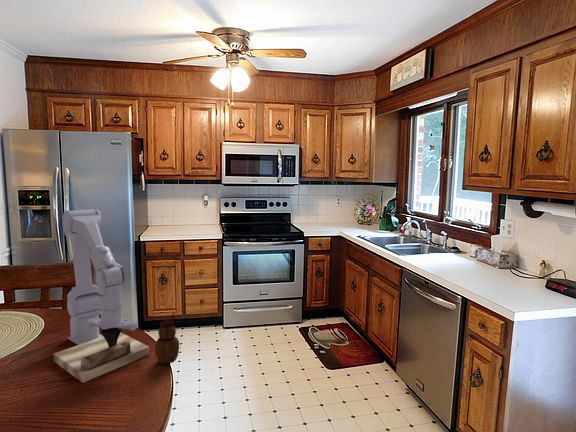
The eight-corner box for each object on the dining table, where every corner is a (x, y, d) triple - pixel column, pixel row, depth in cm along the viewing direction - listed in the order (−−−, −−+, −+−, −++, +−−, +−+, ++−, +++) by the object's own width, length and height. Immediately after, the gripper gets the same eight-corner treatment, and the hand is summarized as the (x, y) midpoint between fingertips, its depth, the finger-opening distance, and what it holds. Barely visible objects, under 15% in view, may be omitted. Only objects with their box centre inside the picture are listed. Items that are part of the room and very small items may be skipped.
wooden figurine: (181, 356, 114) (180, 310, 112) (176, 366, 109) (175, 317, 107) (159, 356, 114) (158, 309, 112) (153, 366, 108) (151, 317, 106)
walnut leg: (83, 370, 100) (83, 362, 99) (79, 367, 101) (78, 359, 101) (132, 351, 111) (132, 343, 111) (127, 348, 113) (127, 340, 112)
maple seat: (54, 361, 110) (53, 353, 109) (118, 338, 126) (118, 330, 125) (82, 383, 99) (82, 373, 99) (149, 354, 115) (149, 346, 115)
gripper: (79, 310, 105) (81, 355, 107) (127, 313, 104) (128, 359, 105) (95, 301, 112) (96, 344, 114) (140, 304, 110) (141, 347, 112)
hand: (113, 350), depth 110 cm, fingers closed, pressing on walnut leg
